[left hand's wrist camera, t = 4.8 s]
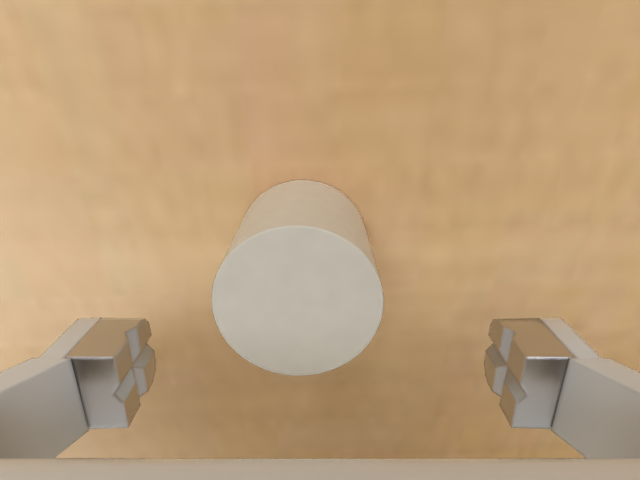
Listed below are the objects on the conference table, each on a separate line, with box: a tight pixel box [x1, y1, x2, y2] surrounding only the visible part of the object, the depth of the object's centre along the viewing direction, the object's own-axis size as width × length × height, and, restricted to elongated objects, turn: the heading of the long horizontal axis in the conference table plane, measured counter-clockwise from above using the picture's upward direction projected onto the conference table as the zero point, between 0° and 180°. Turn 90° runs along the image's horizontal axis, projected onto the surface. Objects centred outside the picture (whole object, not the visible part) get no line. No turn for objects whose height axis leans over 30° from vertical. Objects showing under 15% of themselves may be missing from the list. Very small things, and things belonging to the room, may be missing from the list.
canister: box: [212, 180, 384, 376], centre depth 13 cm, size 4×4×4 cm
